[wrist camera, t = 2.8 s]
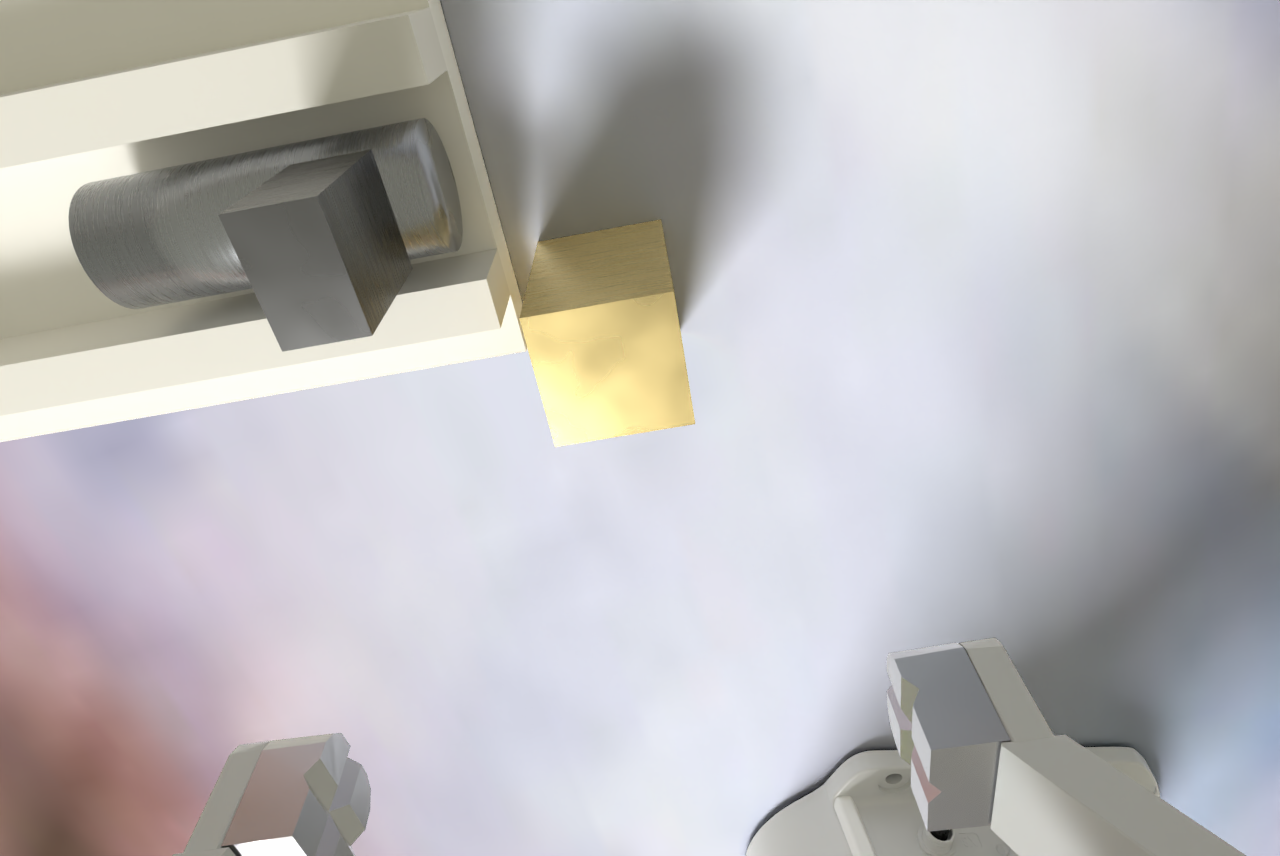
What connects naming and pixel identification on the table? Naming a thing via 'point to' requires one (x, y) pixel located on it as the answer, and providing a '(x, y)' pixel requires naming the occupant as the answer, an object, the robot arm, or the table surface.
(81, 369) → the cradle
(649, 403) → the block
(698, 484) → the table surface
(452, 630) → the table surface
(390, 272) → the shaft
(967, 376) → the table surface
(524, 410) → the table surface
